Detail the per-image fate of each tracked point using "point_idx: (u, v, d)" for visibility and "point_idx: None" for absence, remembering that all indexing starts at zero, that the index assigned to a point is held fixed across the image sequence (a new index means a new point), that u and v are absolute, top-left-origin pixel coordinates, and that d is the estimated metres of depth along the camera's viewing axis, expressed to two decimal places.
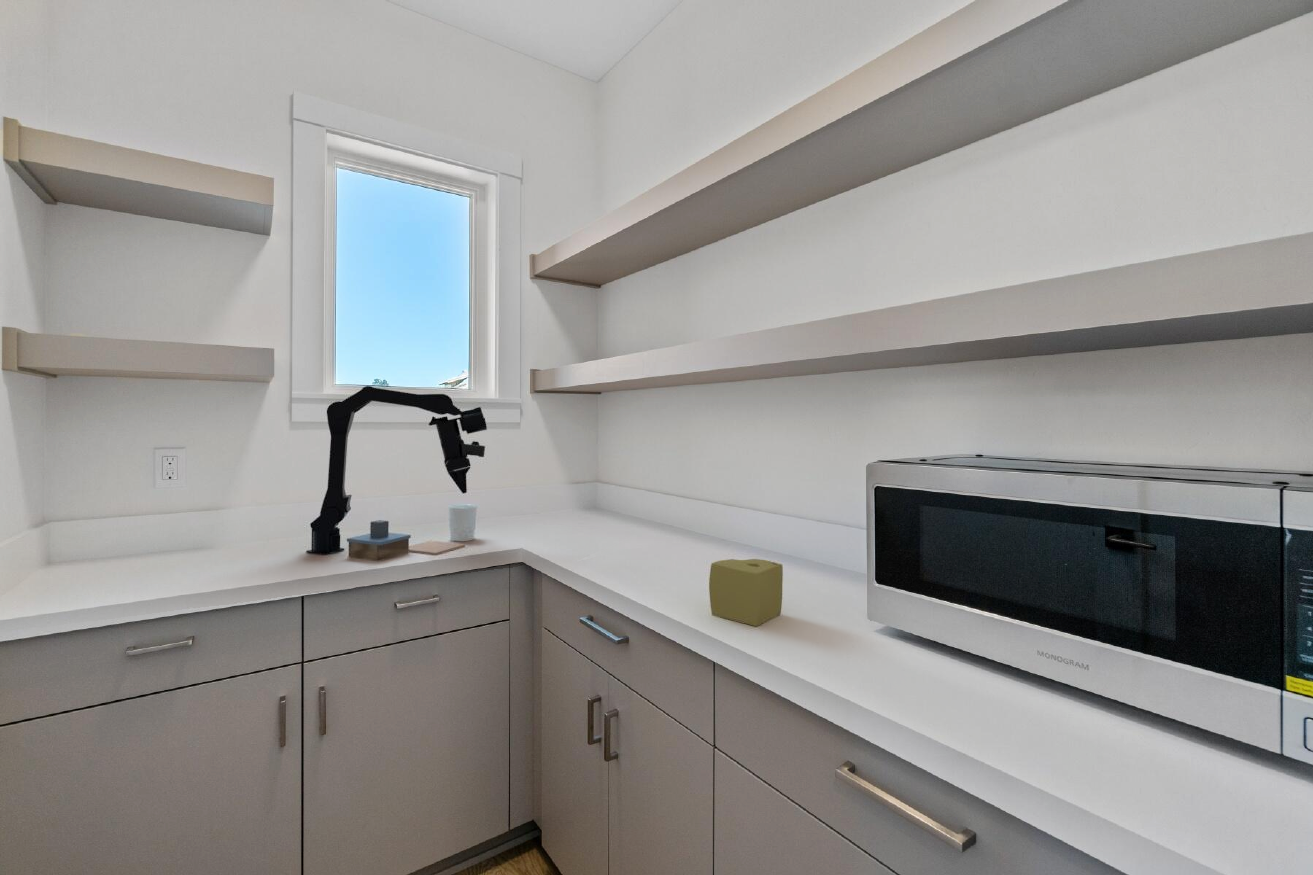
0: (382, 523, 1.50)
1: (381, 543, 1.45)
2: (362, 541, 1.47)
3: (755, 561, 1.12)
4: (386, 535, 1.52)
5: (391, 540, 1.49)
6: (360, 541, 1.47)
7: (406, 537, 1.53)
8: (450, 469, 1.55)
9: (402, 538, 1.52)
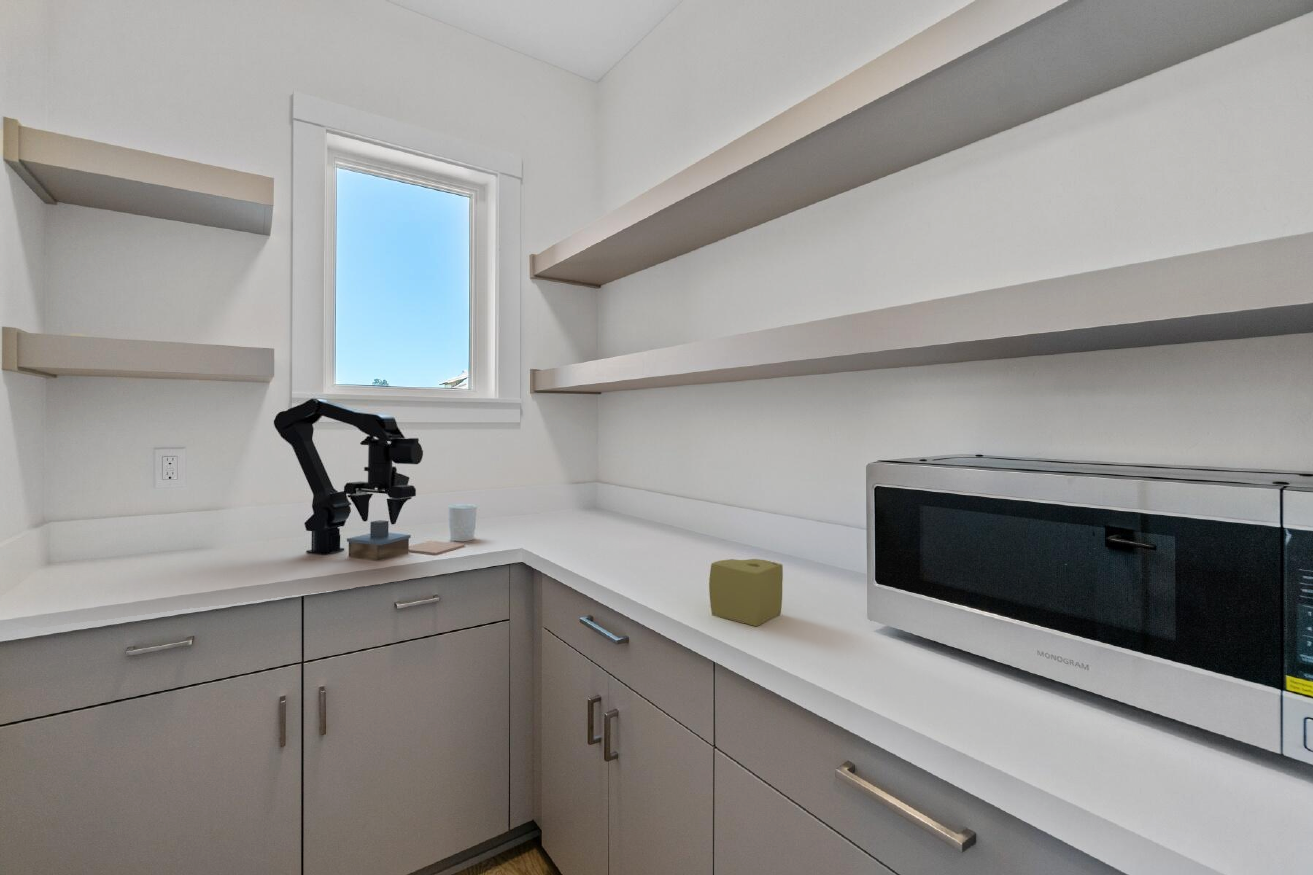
0: (382, 523, 1.50)
1: (381, 543, 1.45)
2: (362, 541, 1.47)
3: (755, 561, 1.12)
4: (386, 535, 1.52)
5: (391, 540, 1.49)
6: (360, 541, 1.47)
7: (406, 537, 1.53)
8: (402, 496, 1.46)
9: (402, 538, 1.52)
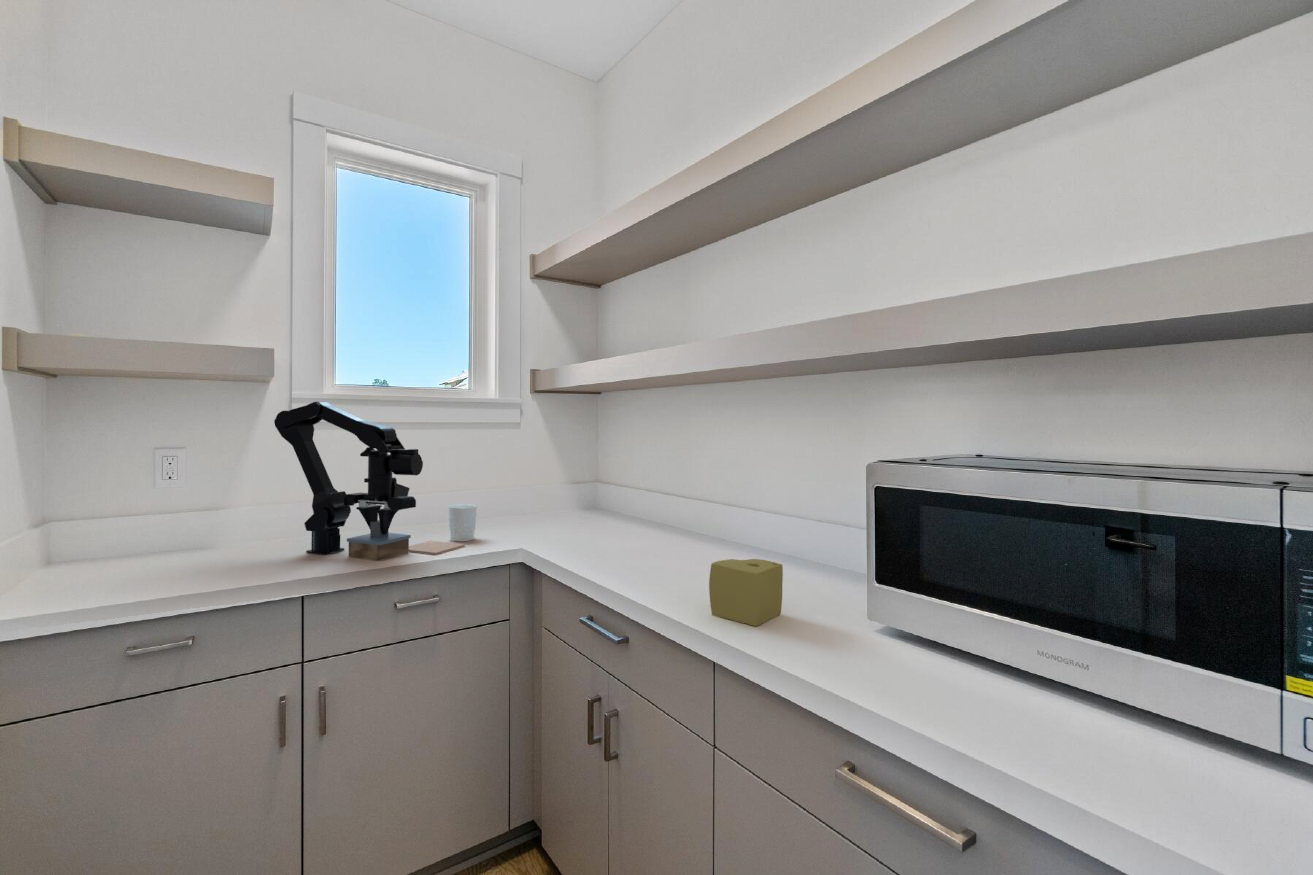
0: None
1: (381, 543, 1.45)
2: (362, 541, 1.47)
3: (755, 561, 1.12)
4: (386, 535, 1.52)
5: (391, 540, 1.49)
6: (360, 541, 1.47)
7: (406, 537, 1.53)
8: (402, 507, 1.46)
9: (402, 538, 1.52)
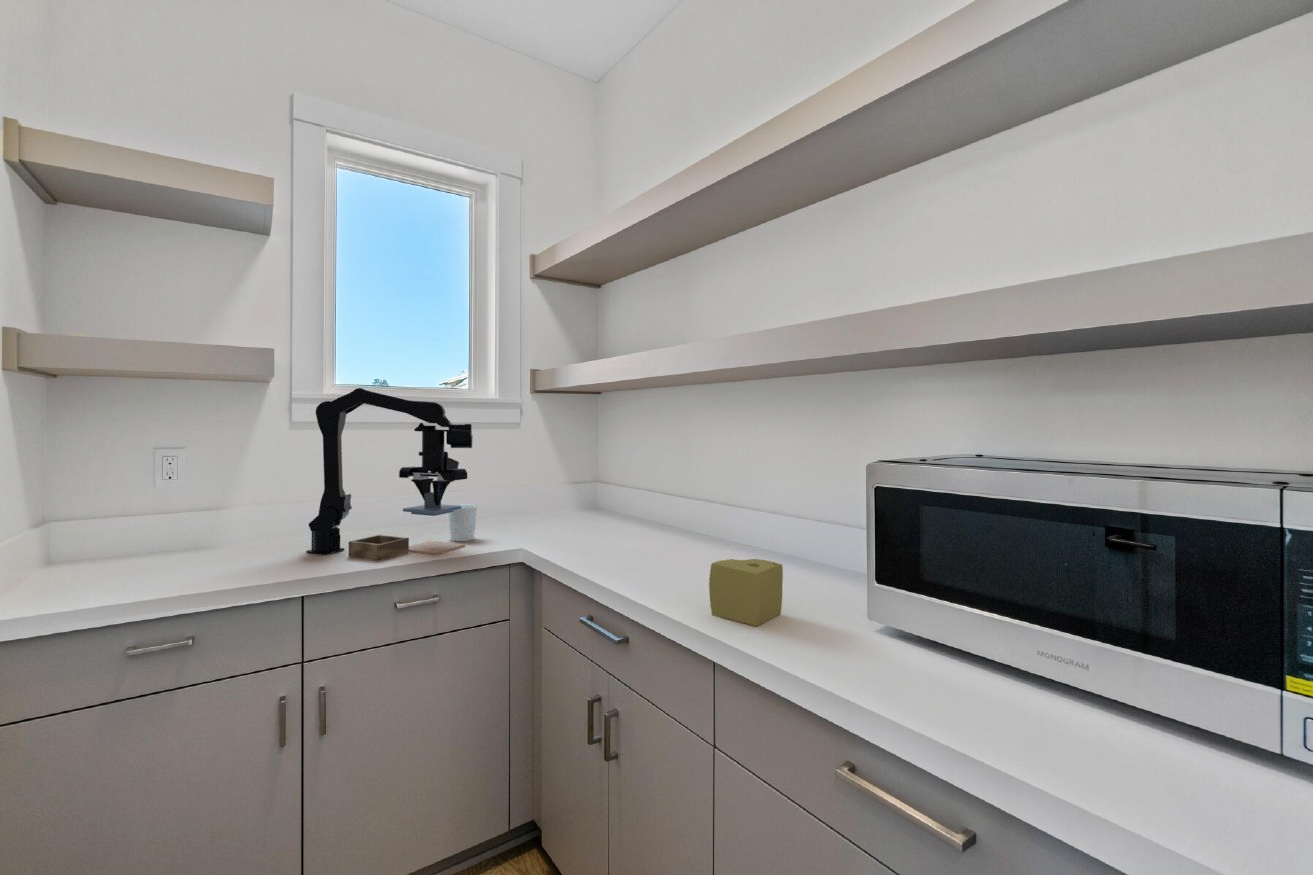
0: None
1: (436, 512, 1.54)
2: (418, 510, 1.55)
3: (755, 561, 1.12)
4: (439, 506, 1.60)
5: (445, 510, 1.57)
6: (416, 510, 1.55)
7: (457, 508, 1.62)
8: (455, 478, 1.55)
9: (454, 508, 1.61)
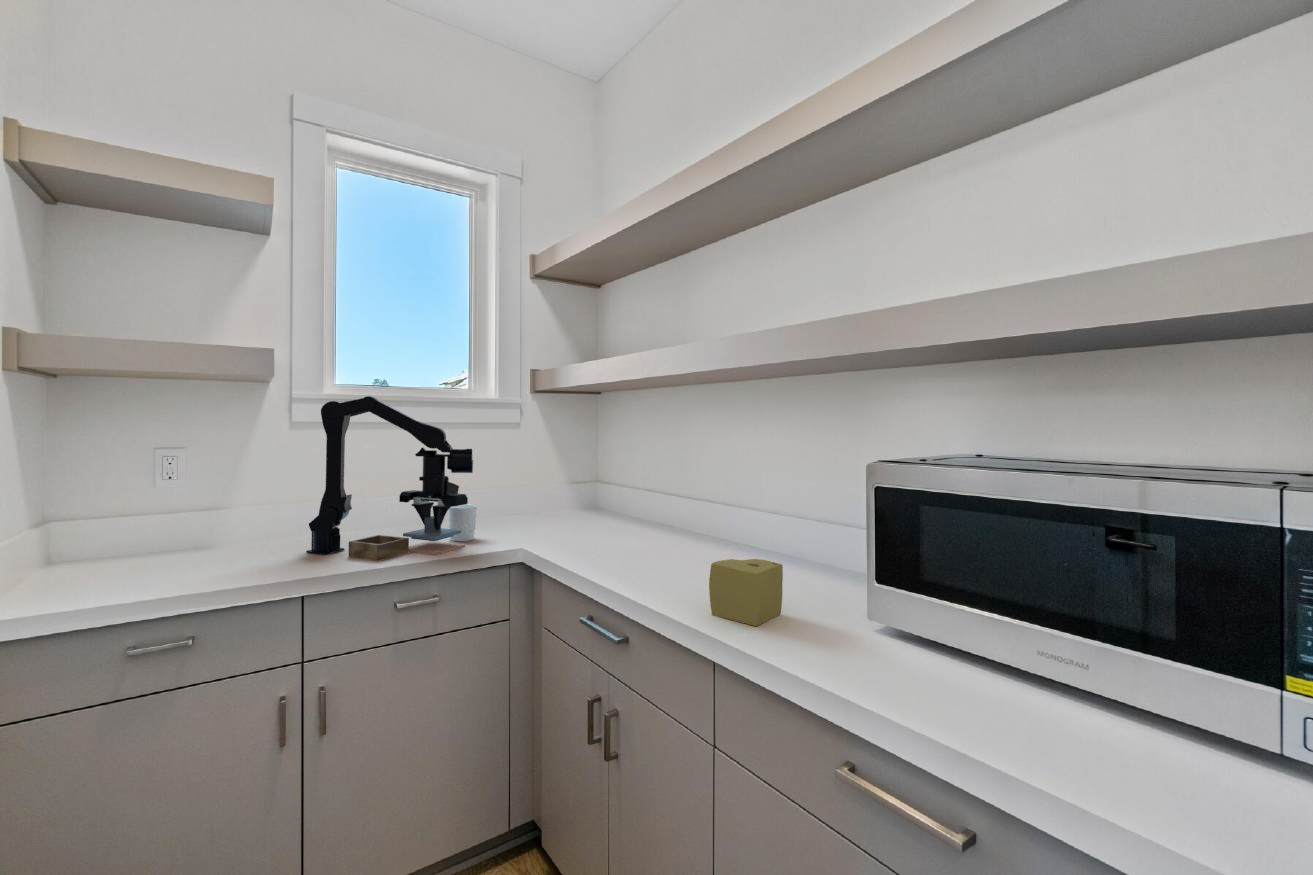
0: None
1: (436, 537, 1.54)
2: (418, 536, 1.56)
3: (755, 561, 1.12)
4: (439, 530, 1.61)
5: (445, 535, 1.58)
6: (416, 536, 1.56)
7: (457, 532, 1.62)
8: (456, 504, 1.55)
9: (454, 533, 1.61)
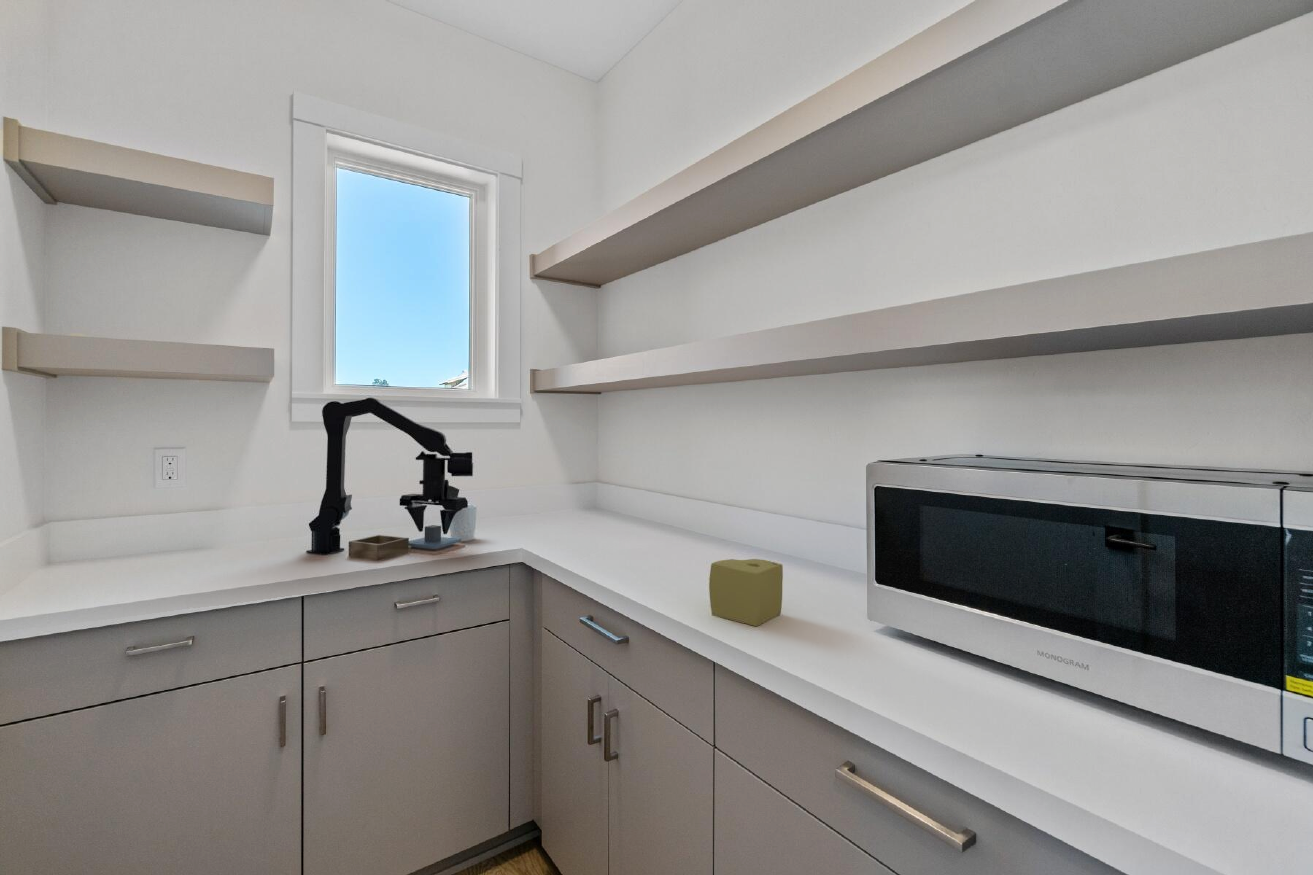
0: (436, 528, 1.60)
1: (436, 547, 1.54)
2: (418, 545, 1.56)
3: (755, 561, 1.12)
4: (439, 539, 1.61)
5: (445, 544, 1.58)
6: (416, 545, 1.56)
7: (457, 541, 1.63)
8: (456, 508, 1.55)
9: (454, 542, 1.61)
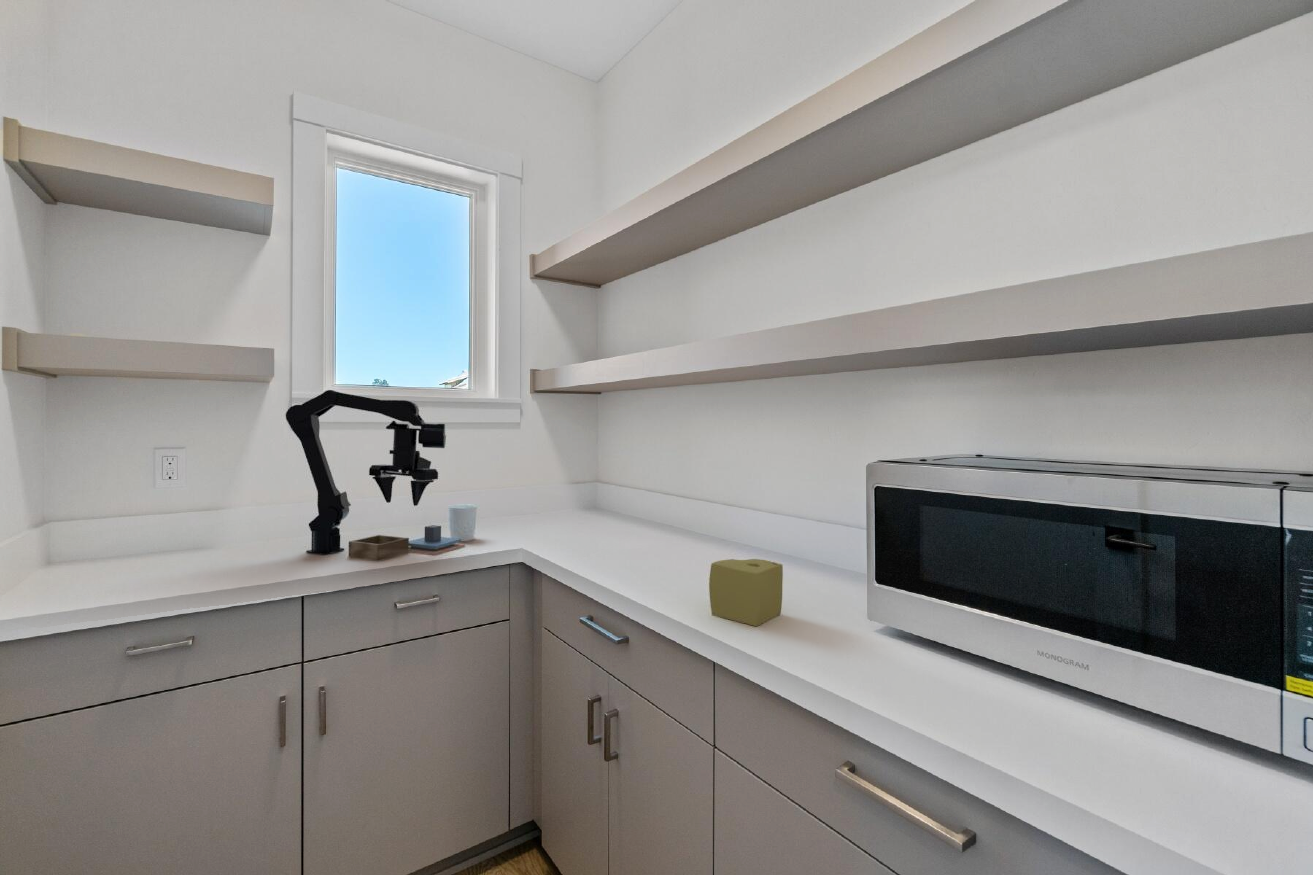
0: (436, 528, 1.60)
1: (436, 547, 1.54)
2: (418, 545, 1.56)
3: (755, 561, 1.12)
4: (439, 539, 1.61)
5: (445, 544, 1.58)
6: (416, 545, 1.56)
7: (457, 541, 1.63)
8: (425, 478, 1.53)
9: (454, 542, 1.61)
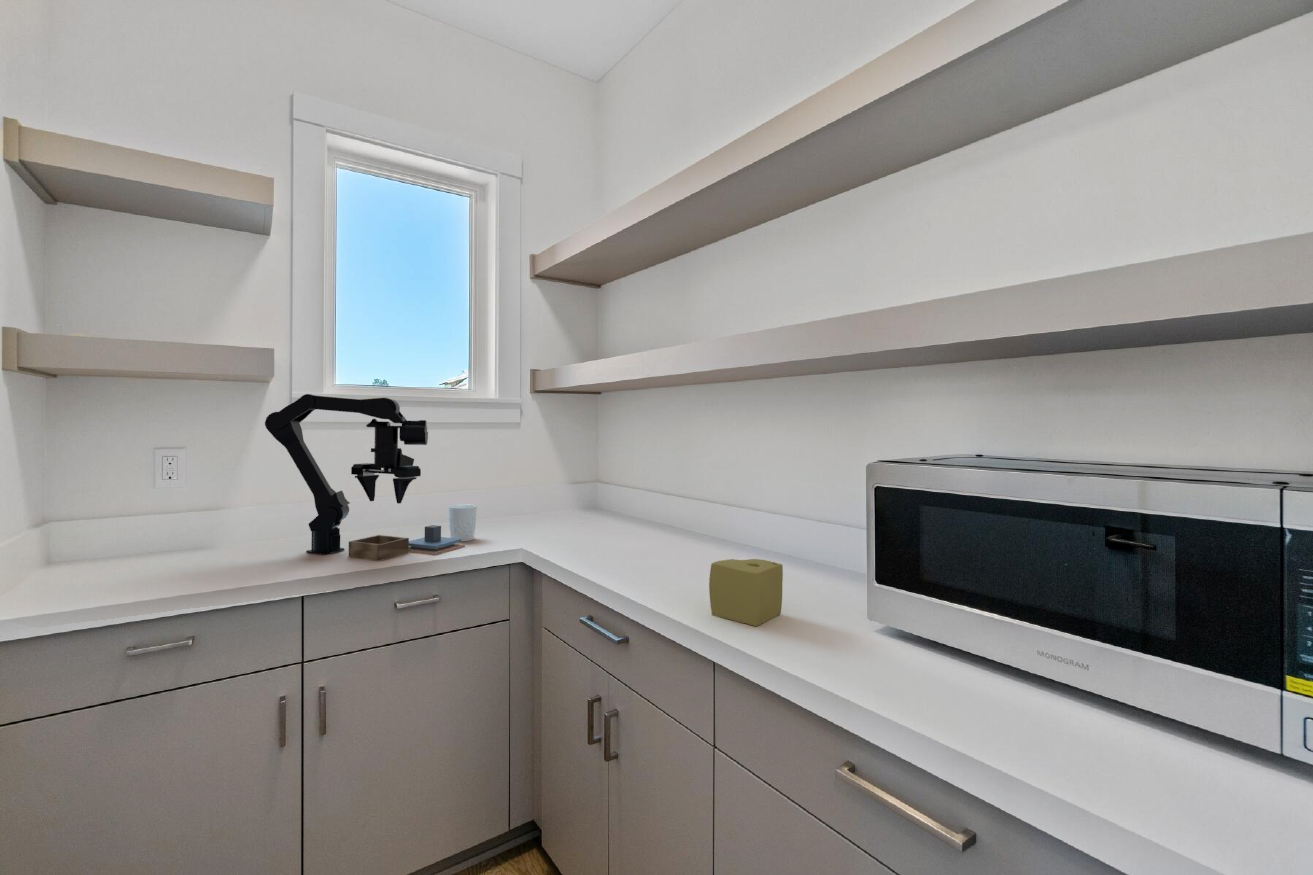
0: (436, 528, 1.60)
1: (436, 547, 1.54)
2: (418, 545, 1.56)
3: (755, 561, 1.12)
4: (439, 539, 1.61)
5: (445, 544, 1.58)
6: (416, 545, 1.56)
7: (457, 541, 1.63)
8: (407, 476, 1.52)
9: (454, 542, 1.61)
